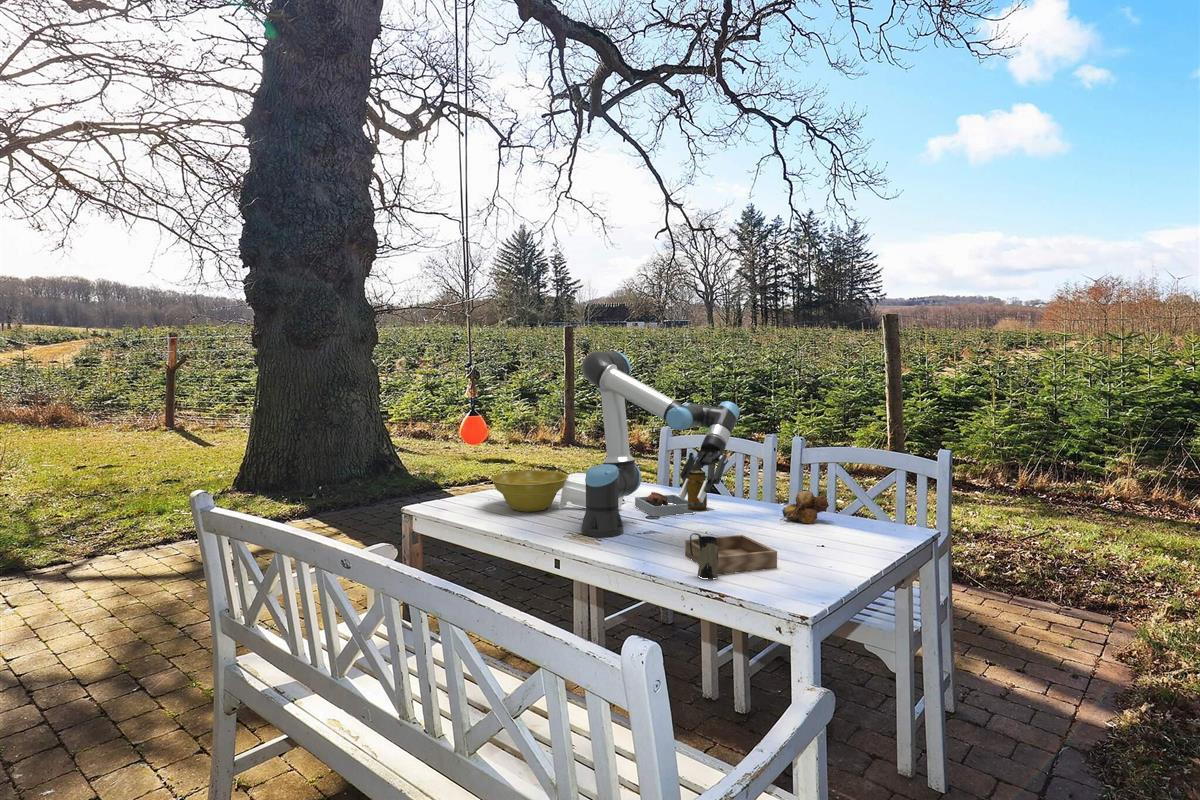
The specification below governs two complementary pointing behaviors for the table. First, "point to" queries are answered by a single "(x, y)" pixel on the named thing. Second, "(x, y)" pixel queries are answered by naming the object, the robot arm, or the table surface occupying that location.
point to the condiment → (696, 492)
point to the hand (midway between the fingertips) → (690, 498)
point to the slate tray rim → (663, 510)
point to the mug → (707, 556)
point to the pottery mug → (657, 499)
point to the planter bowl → (529, 488)
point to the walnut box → (737, 554)
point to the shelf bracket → (577, 494)
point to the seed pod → (805, 507)
